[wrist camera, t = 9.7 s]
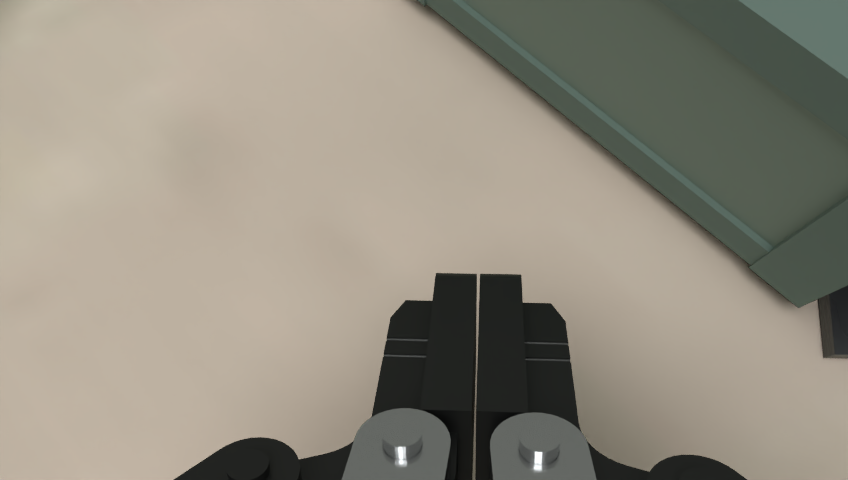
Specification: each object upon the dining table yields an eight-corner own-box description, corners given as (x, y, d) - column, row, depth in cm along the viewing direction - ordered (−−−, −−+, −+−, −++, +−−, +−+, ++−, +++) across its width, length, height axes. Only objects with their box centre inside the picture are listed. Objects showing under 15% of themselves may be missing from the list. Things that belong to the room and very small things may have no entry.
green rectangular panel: (835, 263, 24) (1077, 135, 14) (798, 307, 23) (1018, 207, 14) (422, -60, 28) (390, -334, 18) (386, -25, 27) (334, -285, 18)
